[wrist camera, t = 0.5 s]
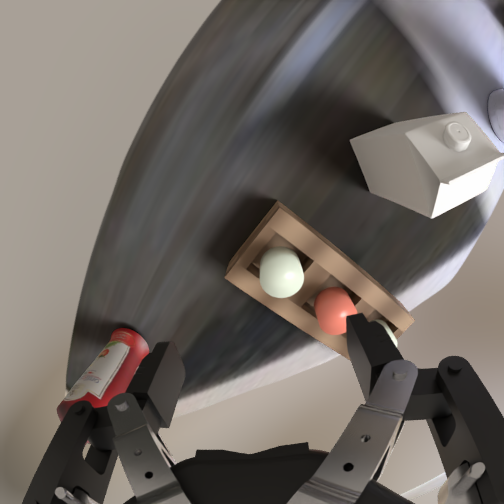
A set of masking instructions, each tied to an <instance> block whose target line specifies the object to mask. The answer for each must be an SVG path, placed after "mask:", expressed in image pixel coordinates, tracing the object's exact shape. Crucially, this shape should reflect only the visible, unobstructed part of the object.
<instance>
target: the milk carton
mask: <svg viewBox="0 0 504 504" xmlns="http://www.w3.org/2000/svg"><path fill="white" fill-rule="evenodd" d="M350 143H351V145H352V148H353V150H354V153H355V155H356V157H357V160H358V162H359V165H360V167H361V170H362V172H363V175H364V178H365V180H366V183H367V186H368V188H369V191H370V193H373V194H375V195H378V196H380V197H383V198H385V199H388V200H390V201H393V202H395V203H398V204H400V205H402V206H405V207H407V208H409V209H412V210H414V211H416V212H418V213H421V214H423V215H425V216H427V217H429V218H434V217H436V216H438V215H440V214H442V213H444V212H446V211H448V210H450V209H452V208H454V207H456V206H458V205H459V204H461V203H463V202H465V201H467V200H469V199H471V198H473V197H475V196H476V195H478V194H480V193H482V192H484V191H486V190H487V188H488V186H489V184H490V181H491V178H492V176H493V173H494V171H495V168H496V165H497V163H498V161H500V160H502V159H504V153H500V152H499V151H498V149H497V148H496V147H495V145H494V144H493V143H492V142H491V140H490V139H489V138H488V137H487V135H486V134H485V133H484V132H483V131H482V129H481V128H480V127H479V126H478V125H477V124H476V122H475V121H474V120H473V119H472V118H471V117H470V116H469V115H468V114H467V113H466V112H460V113H452V114H444V115H438V116H431V117H425V118H419V119H413V120H408V121H402V122H397V123H393V124H390V125H387V126H384V127H382V128H379V129H376V130H373V131H371V132H368V133H365V134H363V135H360V136H358V137H355V138H353V139H350Z"/></svg>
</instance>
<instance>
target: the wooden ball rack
mask: <svg viewBox="0 0 504 504" xmlns="http://www.w3.org/2000/svg"><path fill="white" fill-rule="evenodd" d="M277 246H283V247H287V248H290V249H292V250H293V251H294V252H295V253H296V254H297V256H298V258H299V260H300V263H301V267H302V270H303V273H304V281H303V284H302V286H301V288H300V289H299V291H298V292H297V293H295V294H294V295H292V296H290V297H286V298H276V297H273V296H270V295H269V294H267V293H266V292H265V291H264V290H263V288H262V286H261V284H260V262H261V258H262V256H263V255H264V254H265V252H267V251H268V250H269V249H271V248H273V247H277ZM224 278H225V279H227V280H228V281H230V282H231V283H233V284H234V285H236V286H237V287H238V288H240V289H241V290H243V291H244V292H246V293H247V294H249V295H250V296H252V297H253V298H255V299H256V300H258V301H259V302H261V303H262V304H264V305H265V306H267V307H268V308H270V309H271V310H273V311H274V312H276V313H277V314H279V315H280V316H282V317H283V318H285V319H286V320H288V321H289V322H291V323H292V324H294V325H295V326H297V327H298V328H300V329H301V330H303V331H305V332H306V333H308V334H309V335H311V336H312V337H314V338H315V339H317V340H319V341H320V342H322V343H323V344H325V345H326V346H328V347H330V348H331V349H333V350H334V351H336V352H337V353H339V354H341V355H342V356H344V357H346V358H347V359H349V360H350V357H349V354H348V349H347V333H346V332H345V333H343V334H340V335H330V334H327V333H325V332H324V331H323V330H322V329H321V328H320V326H319V322H318V319H317V316H316V312H315V309H314V301H315V298H316V297H317V295H318V294H319V293H320V292H321V291H322V290H324V289H326V288H329V287H340V288H342V289H344V290H345V291H346V292H347V293H348V295H349V297H350V299H351V301H352V302H353V304H354V306H355V308H356V310H357V314H358V313H363V314H364V316H365V317H366V319H367V321H368V322H369V321H372V320H377V319H378V320H383V321H384V322H386V324H387V325H388V327H389V328H390V330H391V331H392V333H393V335H394V336H395V338H396V340H397V338H398V337H400V335H402V333H403V332H404V331H405V330H406V329H407V328H408V327H409V326H410V325H411V324H412V323H413V322H414V321H415V320H414V319H413V317H412V316H411V315H410V313H409V312H408V311H407V310H406V308H405V307H404V306H403V305H402V303H401V302H399V301H398V300H397V299H396V298H395V297H394V296H393V295H392V294H391V293H389V292H388V291H387V290H386V289H385V288H384V287H383V286H382V285H380V284H379V283H378V282H377V281H376V280H375V279H374V278H372V277H371V276H370V275H369V274H368V273H367V272H365V271H364V270H363V269H362V268H361V267H360V266H358V265H357V264H356V263H355V262H354V261H353V260H351V259H350V258H349V257H348V256H347V255H345V254H344V253H343V252H342V251H341V250H339V249H338V248H337V247H336V246H335V245H333V244H332V243H331V242H330V241H328V240H327V239H326V238H325V237H324V236H322V235H321V234H320V233H319V232H317V231H316V230H315V229H314V228H312V227H311V226H310V225H309V224H307V223H306V222H305V221H304V220H302V219H301V218H300V217H299V216H297V215H296V214H295V213H293V212H292V211H291V210H290V209H288V208H287V207H286V206H284V205H283V204H282V203H280V202H279V201H278V200H277V202H276V203H275V204H274V205H273V207H272V208H271V209H270V211H269V212H268V213H267V214H266V216H265V217H264V218H263V219H262V221H261V222H260V223H259V225H258V226H257V227H256V228H255V230H254V231H253V232H252V233H251V235H250V236H249V237H248V239H247V240H246V241H245V242H244V244H243V245H242V246H241V248H240V249H239V250H238V251H237V253H236V254H235V255H234V257H233V258H232V259H231V260H230V262H229V264H228V268H227V271H226V274H225V277H224ZM350 361H351V360H350Z"/></svg>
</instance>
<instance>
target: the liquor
mask: <svg viewBox="0 0 504 504" xmlns="http://www.w3.org/2000/svg"><path fill="white" fill-rule="evenodd" d="M148 354H149V348H148V345H147V343H146V341H145V340H144V339H143V338H142V337H141V336H140V335H139V334H138V333H137V332H135V331H133V330H130V329H127V328H119V329H116V330H115V331H113V333H112V335H111V340H110V341H109V343H108V344H107V345H106V347H105V348H104V349H103V350H102V352H101V353H100V354H99V355H98V357H97V358H96V359H95V360H94V362H93V363H92V364H91V365H90V367H89V368H88V369H87V370H86V371H85V373H84V374H83V375H82V376H81V377H80V379H79V380H78V381H77V382H76V383H75V385H74V386H73V387H72V389H71V390H70V391H69V393H68V394H67V395H66V397H65V398H64V400H63V401H62V402H61V403H60V405H59V406H58V407H57V414H58V416H59V418H60V421H61V422H62V420H63V418H64V417H65V415H66V413H67V411H68V409H69V408H70V407H71V406H72V405H73V404H74V403H76V402H78V401H82V400H86V401H89V402H90V403H91V404H92V406H93V407H94V408H98V407H103V406H107V405H108V402H109V401H110V400H111V399H112V398H113V397H114V396H116V395H118V394H120V393H125V392H126V390H127V388H128V386H129V384H130V382H131V380H132V378H133V376H134V374H135V372H136V370H137V368H138V366H139V365H140V363H141V361H142V359H143V358H144V357H145V356H147V355H148ZM87 443H89V441H88V440H87V442H86V444H87ZM86 444H85V445H86ZM89 444H90V443H89Z"/></svg>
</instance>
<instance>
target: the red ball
mask: <svg viewBox="0 0 504 504" xmlns="http://www.w3.org/2000/svg"><path fill="white" fill-rule="evenodd" d="M314 309H315V312H316V316H317V319H318V322H319V326H320V328H321V329H322V330H323V331H324V332H325V333H327V334H330V335H340V334H343V333H345V332H346V316H348V315H353V314H357V310H356V308H355V306H354V304H353V302H352V301H351V299H350V297H349V295H348V293H347V292H346V291H345V290H344V289H342V288H340V287H329V288H326V289H324V290H322V291H321V292H320V293H319V294H318V295H317V297H316V298H315V301H314Z"/></svg>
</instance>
